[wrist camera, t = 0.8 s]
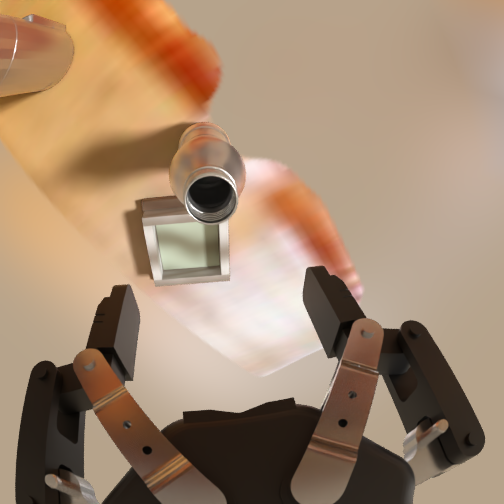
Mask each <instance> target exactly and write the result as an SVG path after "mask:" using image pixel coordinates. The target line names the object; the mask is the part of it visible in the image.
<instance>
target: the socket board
mask: <svg viewBox="0 0 504 504" xmlns="http://www.w3.org/2000/svg"><path fill="white" fill-rule="evenodd" d="M141 203H142V210H143V216H142V223H143V228H144V234H145V239H146V244H147V250H148V255H149V259H150V264H151V269H152V273H153V278H154V282H155V286H170V285H183V284H196V283H208V282H219V281H230V259H229V219H228V220H227V221H225V222H224V223H221V224H218V225H204V224H201V223H198V222H197V221H195V220H194V219H193V218H192V217H190V215H189V214H188V213H187V210H186V208H185V205H184V204H182V203H181V202H180V201H179V199H178V198H177V197H176V196H166V197H156V198H146V199H143V200H142V202H141Z"/></svg>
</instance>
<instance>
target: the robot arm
mask: <svg viewBox="0 0 504 504" xmlns="http://www.w3.org/2000/svg"><path fill="white" fill-rule="evenodd" d="M73 54H74V46H73V41H72V39H71V37H70V36H69V35H68V34H67V32H66V26H65V25H63V24H60V23H58V22H55V21H52V20H49V19H46V18H43V17H40V16H37V15H34V14H31V15H28V16H26V17H24V18H22V19H21V18H16V17H12V16H7V15H2V14H0V97H4V96H10V95H16V94H22V93H29V92H38V91H43V90H47V89H49V88H51V87H53V86H54V85H56V84H57V83H58V82H59V81H60V80H61V79H62V78H63V77H64V75H65V74H66V73H67V71H68V69H69V67H70V65H71V62H72V59H73ZM303 302H304V305H305V308H306V310H307V312H308V314H309V316H310V319H311V321H312V323H313V325H314V328H315V330H316V332H317V334H318V337H319V339H320V341H321V343H322V346H323V348H324V350H325V352H326V354H327V357H328V358H333V357H337V358H338V364H337V367H336V369H335V372H334V375H333V378H332V380H331V383H330V385H329V388H328V391H327V393H326V396H325V398H324V400H323V402H322V405H321V407H320V409H317V408H315V407H312V406H307V405H301V404H295V401H294V398H288V399H283V400H278V401H272V402H267V403H265V404H262V405H260V406H257V407H254V408H252V409H249V410H247V411H244V412H241V413H234V412H224V411H215V410H201V411H187V412H183V419H180V420H178V421H175V422H173V423H171V424H170V425H168V426H167V427H165V428H164V429H163V430H161V431H160V430H159V429H158V428H157V427H156V426H155V425H154V423H153V422H152V421H151V420H150V419H149V417H148V416H147V415H146V414H145V413H144V411H143V410H142V409H141V408H140V407H139V405H138V404H137V403H136V401H135V400H134V399H133V397H132V396H131V395H130V393H129V392H128V391H127V389H126V388H125V387H124V386H125V381H133V375H134V365H135V356H136V348H137V340H138V332H139V324H140V313H139V309H138V306H137V303H136V300H135V297H134V294H133V291H132V288H131V286H130V285H115V286H114V287H113V289H112V292H111V295H110V297H105V298H104V299H103V300H102V301H101V303H100V304H99V305H98V308H97V311H96V314H95V315H96V316H95V318H94V321H93V324H92V328H91V331H90V335H89V338H88V342H87V346H86V349H85V350H83V351H81V352H80V353H79V354H78V355H77V356H76V357H75V359H74V361H73V363H71V364H68V365H64V366H61V367H56V366H55V365H54V364H53V363H52V362H50V361H42V362H39V363H38V364H37V365H36V366H34V368H33V369H32V371H31V375H30V379H29V383H28V387H27V391H26V396H25V401H24V406H23V412H22V418H21V424H20V431H19V439H18V448H17V459H16V482H15V486H16V487H15V488H16V489H15V492H16V496H15V497H16V504H99V503H98V501H97V499H96V497H95V493H94V490H93V487H92V486H91V484H90V483H89V482H88V481H87V480H85V479H84V429H85V412H86V410H90V409H93V410H94V412H95V414H96V416H97V417H98V419H99V421H100V422H101V424H102V425H103V427H104V428H105V430H106V431H107V433H108V434H109V436H110V437H111V439H112V440H113V442H114V443H115V445H116V446H117V447H118V449H119V450H120V451H121V453H122V454H123V455H124V457H125V458H126V459H127V461H128V462H129V463H130V465H131V466H132V467H131V468H130V470H129V471H128V472H127V473H126V474H125V476H124V477H123V478H122V479H121V481H120V482H119V483H118V484H117V485H116V487H115V488H114V489H113V490H112V491H111V493H110V494H109V495H108V496H107V498H105V500H104V501H103V502H102V504H413V495H414V490H415V486H417V485H418V484H421V483H423V482H424V481H426V480H428V479H430V478H433V477H436V476H439V475H441V474H443V473H445V472H447V471H449V470H451V469H453V468H455V467H456V466H458V465H460V464H462V463H464V462H465V461H467V460H469V459H471V458H472V457H474V456H476V455H477V454H479V453H480V452H481V450H482V449H483V447H484V443H485V435H484V432H483V429H482V427H481V425H480V423H479V421H478V419H477V417H476V415H475V413H474V411H473V409H472V407H471V405H470V403H469V401H468V399H467V397H466V395H465V393H464V391H463V389H462V388H461V386H460V384H459V382H458V380H457V379H456V377H455V375H454V373H453V371H452V370H451V368H450V366H449V365H448V363H447V361H446V360H445V358H444V356H443V355H442V353H441V351H440V350H439V348H438V346H437V345H436V344H435V342H434V340H433V338H432V337H431V335H430V334H429V332H428V331H427V329H426V328H425V327H424V326H423V325H422V324H421V323H419V322H417V321H411V320H410V321H406V322H404V323H403V324H402V325H401V328H400V329H384V328H382V326H381V325H380V324H379V323H378V322H376V321H374V320H372V319H368V318H366V316H365V315H364V313H363V311H362V310H361V308H360V307H359V305H358V304H357V302H356V300H355V299H354V297H352V294H351V293H350V291H349V290H348V288H347V286H346V285H345V283H344V282H343V281H342V280H341V279H339V278H338V277H337V276H335V275H331V276H330V274H329V273H328V271H327V270H326V268H325V267H324V266H315V267H308V268H307V269H306V275H305V281H304V288H303ZM379 375H382V376H383V379H384V381H385V383H386V385H387V388H388V390H389V392H390V394H391V397H392V399H393V401H394V404H395V406H396V408H397V410H398V413H399V415H400V418H401V420H402V423H403V425H404V428H405V430H406V433H407V436H406V437H405V439H404V443H403V447H404V450H403V452H404V454H405V455H404V459H403V458H402V457H400V456H398V455H396V454H394V453H392V452H391V451H389V450H387V449H385V448H383V447H381V446H380V445H378V444H376V443H374V442H373V441H371V440H369V439H368V438H366V437H364V436H363V433H364V429H365V426H366V423H367V419H368V416H369V413H370V409H371V405H372V401H373V398H374V394H375V390H376V386H377V382H378V377H379Z"/></svg>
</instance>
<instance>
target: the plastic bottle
mask: <svg viewBox="0 0 504 504" xmlns="http://www.w3.org/2000/svg"><path fill="white" fill-rule="evenodd" d="M169 181H170V185H171V188H172V190H173V192H174V194H175V195H176V197H177V198H178V199H179V201H180V202H181V203H182V204H184V205H185V208H186V210H187V213H188V214H189V215H190V217H192V218H193V219H194V220H195V221H197V222H198V223H201V224H204V225H218V224H221V223H224V222H225V221H227V220H228V219H229V218H231V217H232V215H233V214H234V213H235V211H236V209H237V205H238V198H239V196H240V194H241V192H242V190H243V188H244V185H245V181H246V169H245V164H244V162H243V159H242V157H241V156H240V154H239V152H238V151H237V150H236V149H235V148H234V147H233V146H232V145H231V143H230V139H229V137H228V135H227V133H226V132H225V131H224V130H223V129H222V128H221V127H219V126H218V125H216V124H213V123H209V122H200V123H196V124H194V125H192V126H190V127H188V128H187V129H186V130H185V131H184V133H183V134H182V135H181V138H180V140H179V144H178V151H177V152H176V154H175V156H174V157H173V159H172V162H171V164H170V169H169Z"/></svg>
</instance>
